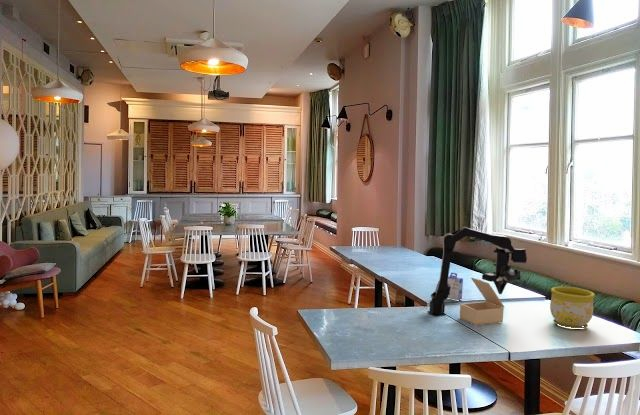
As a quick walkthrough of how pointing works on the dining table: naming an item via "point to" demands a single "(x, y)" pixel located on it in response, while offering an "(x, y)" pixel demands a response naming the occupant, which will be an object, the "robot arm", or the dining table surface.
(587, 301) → the flowerpot
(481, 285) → the carton lid
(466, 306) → the carton
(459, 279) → the ink cartridge box
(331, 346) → the dining table surface
